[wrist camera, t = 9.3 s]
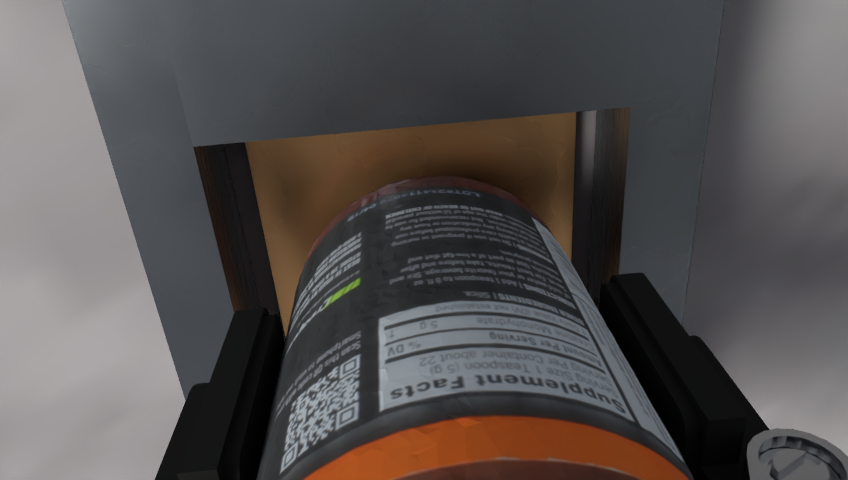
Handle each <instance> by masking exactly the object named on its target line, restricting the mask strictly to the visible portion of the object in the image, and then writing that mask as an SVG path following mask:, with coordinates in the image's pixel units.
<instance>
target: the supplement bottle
mask: <svg viewBox="0 0 848 480" xmlns="http://www.w3.org/2000/svg"><path fill="white" fill-rule="evenodd" d="M597 306H598V298H596V297H595V298H594V302H593V300H592V299H591V297H590V295H589V293H588V291H587V290H586V288H585V286H584V284H583V282H582V280H581V279H580V277H579V275H578V273H577V272H576V270H575V268H574V266H573V265H572V263H571V261H570V260H569V258H568V256H567V255H566V253H565V251H564V250H563V248H562V247H561V246H560V244H559V243H558V242H557V240H556V238H555V237H554V236H553V234H552V233H551V231H550V229H549V228H548V226H547V225H546V224H545V223H544V221H543V220H542V219H541V218H540V217H539V216H538V215H537V214H536V213H535V212H534V211H533V210H532V209H531V208H530V207H528V206H527V205H526V204H524V203H523V202H522V201H521V200H520V199H518V198H516V197H515V196H514V195H512V194H510V193H508V192H506V191H504V190H503V189H500V188H498V187H496V186H493V185H490V184H487V183H484V182H481V181H477V180H473V179H470V178H463V177H456V176H448V175H440V176H431V175H430V176H420V177H413V178H407V179H402V180H399V181H395V182H391V183H388V184H386V185H383V186H381V187H379V188H378V189H376V190H374V191H372V192H370V193H368V194H366V195H364V196H362V197H361V198H359V199H357V200H356V201H354V202H352V203H350V204H349V205H348V206H347V207H346V208H345V209H343V210H342V211H341V212H340V213H339V214H338V215H337V216H335V217H334V218H333V219H332V220H331V222H330V223H329V224H328V225H327V226H326V228H325V229H324V230H323V232H322V233H321V234H320V235H319V237H318V238H317V240H316V241H315V243H314V244H313V246H312V249H311V251H310V253H309V254H308V257H307V259H306V261H305V263H304V266H303V270H302V273H301V275H300V277H299V282H298V285H297V288H296V291H295V297H294V303H293V308H292V312H291V316H290V321H289V325H288V331H287V335H286V339H285V343H284V349H283V353H282V356H281V360H280V369H279V374H278V379H277V384H276V387H275V392H274V397H273V402H272V407H271V410H270V416H269V421H268V426H267V430H266V435H265V440H264V444H263V448H262V455H261V459H260V464H259V469H258V474H257V478H256V480H694V478H693V476H692V474H691V472H690V471H689V469H688V467H687V465H686V463H685V461H684V459H683V457H682V455H681V453H680V451H679V449H678V447H677V446H676V444H675V442H674V440H673V439H672V437H671V435H670V434H669V432H668V431H667V429H666V427H665V425H664V423H663V422H662V420H661V419H660V417H659V416H658V414H657V412H656V411H655V409H654V407H653V406H652V404H651V402H650V400H649V398H648V396H647V395H646V393H645V391H644V389H643V388H642V386H641V385H640V382H639V380H638V378H637V376H636V374H635V372H634V371H633V369H632V368H631V366H630V365H629V363H628V361H627V360H626V358H625V356H624V354H623V352H622V350H621V349H620V347H619V345H618V344H617V342H616V340H615V338H614V336H613V335H612V333H611V331H610V330H609V328H608V327H607V325H606V323H605V321H604V319H603V317H602V316H601V314H600V312H599V310H598V309H597Z"/></svg>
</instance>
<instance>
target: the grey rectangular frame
mask: <svg viewBox="0 0 848 480" xmlns="http://www.w3.org/2000/svg"><path fill="white" fill-rule="evenodd" d="M62 4H63V7H64V10H65V13H66V16H67V20H68V23H69V26H70V29H71V33H72V36H73V39H74V42H75V45H76V49H77V52H78V55H79V58H80V62H81V65H82V68H83V71H84V75H85V78H86V81H87V84H88V87H89V91H90V94H91V97H92V100H93V104H94V107H95V110H96V113H97V116H98V120H99V123H100V126H101V129H102V133H103V136H104V139H105V142H106V145H107V149H108V152H109V155H110V158H111V162H112V165H113V168H114V171H115V174H116V178H117V181H118V184H119V187H120V191H121V194H122V197H123V200H124V203H125V207H126V210H127V213H128V216H129V220H130V223H131V226H132V229H133V232H134V236H135V239H136V242H137V245H138V249H139V252H140V255H141V258H142V262H143V265H144V268H145V271H146V274H147V278H148V281H149V284H150V287H151V291H152V294H153V297H154V300H155V303H156V307H157V310H158V313H159V316H160V320H161V323H162V326H163V329H164V332H165V336H166V339H167V342H168V345H169V349H170V352H171V355H172V358H173V361H174V365H175V368H176V371H177V374H178V378H179V381H180V384H181V387H182V390H183V394H184V397H185V400H186V399H187V397H188V394H189V392H190V390H191V388H192V386H194V385H195V384H199V383H209V382H210V379H211V376H212V373H213V370H214V368H215V365H216V362H217V359H218V357H219V354H220V351H221V348H222V345H223V343H224V340H225V337H226V334H227V332H228V329H229V326H230V323H231V320H232V318H233V315H234V313H235V311H238V310H248V309H259V308H260V305H259V300H258V296H257V291H256V287H255V282H254V278H253V274H252V269H251V265H250V260H249V256H248V251H247V247H246V242H245V238H244V233H243V229H242V224H241V220H240V216H239V211H238V207H237V202H236V198H235V193H234V189H233V184H232V180H231V175H230V171H229V166H228V162H227V157H226V153H225V149H224V144H229V143H240V142H245V145H246V150H247V155H248V160H249V164H250V169H251V174H252V179H253V184H254V188H255V193H256V198H257V203H258V208H259V213H260V217H261V222H262V227H263V232H264V237H265V241H266V246H267V251H268V256H269V261H270V265H271V270H272V275H273V280H274V285H275V289H276V294H277V299H278V304H279V309H280V313H281V318H282V323H283V328H284V333H285V338H286V335H287V331H288V325H289V321H290V316H291V312H292V308H293V303H294V297H295V291H296V288H297V285H298V282H299V277H300V275H301V273H302V270H303V266H304V263H305V261H306V259H307V257H308V254H309V253H310V251H311V249H312V246H313V244H314V243H315V241H316V240H317V238H318V237H319V235H320V234H321V233H322V232H323V230H324V229H325V228H326V226H327V225H328V224H329V223H330V222H331V220H332V219H333V218H334V217H335V216H337V215H338V214H339V213H340V212H341V211H342V210H343V209H345V208H346V207H347V206H348V205H349V204H350V203H352V202H354V201H356V200H357V199H359V198H361V197H362V196H364V195H366V194H368V193H370V192H372V191H374V190H376V189H378V188H379V187H381V186H383V185H386V184H388V183H391V182H395V181H399V180H402V179H407V178H413V177H420V176H430V175H431V176H440V175H448V176H456V177H463V178H470V179H473V180H477V181H481V182H484V183H487V184H490V185H493V186H496V187H498V188H500V189H503V190H504V191H506V192H508V193H510V194H512V195H514V196H515V197H516V198H518V199H520V200H521V201H522V202H523V203H524V204H526V205H527V206H528V207H530V208H531V209H532V210H533V211H534V212H535V213H536V214H537V215H538V216H539V217H540V218H541V219H542V220H543V221H544V223H545V224H546V225H547V226H548V228H549V229H550V231H551V233H552V234H553V236H554V237H555V238H556V240H557V242H558V243H559V244H560V246H561V247H562V248H563V250H564V251H565V253H566V255H567V256H568V258H569V260H570V261H571V252H572V223H573V194H574V164H575V135H576V112H581V111H592V110H597V114H596V134H595V155H594V175H593V196H592V216H591V237H590V257H589V278H588V293H589V295H590V297H591V299H592V300H593V302H594V298H595V297H596V298H598V306H597V309H598V310H599V301H600V288H601V285H602V284H603V283H609V281H610V278H611V276H612V275H618V274H628V273H639V272H641V273H643V274H645V276H646V277H647V278H648V280H649V281H650V282H651V284H652V285H653V287H654V288H655V289H656V291H657V292H658V294H659V295H660V296H661V298H662V299H663V300H664V302H665V303H666V305H667V306H668V307H669V309H670V310H671V312H672V313H673V314H674V316H675V317H676V318H677V320H678V321H679V323H680V324H681V325H682V323H683V316H684V308H685V300H686V293H687V285H688V277H689V269H690V262H691V254H692V246H693V239H694V231H695V223H696V216H697V208H698V200H699V192H700V185H701V177H702V169H703V162H704V154H705V146H706V139H707V131H708V123H709V116H710V108H711V100H712V92H713V85H714V77H715V69H716V62H717V54H718V46H719V39H720V31H721V23H722V15H723V8H724V0H62Z"/></svg>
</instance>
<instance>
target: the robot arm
mask: <svg viewBox="0 0 848 480" xmlns="http://www.w3.org/2000/svg"><path fill="white" fill-rule="evenodd" d="M599 312H600V314H601V316H602V317H603V319H604V321H605V323H606V325H607V327H608V328H609V330H610V331H611V333H612V335H613V336H614V338H615V340H616V342H617V344H618V345H619V347H620V349H621V350H622V352H623V354H624V356H625V358H626V360H627V361H628V363H629V365H630V366H631V368H632V369H633V371H634V372H635V374H636V376H637V378H638V380H639V382H640V385H641V386H642V388H643V389H644V391H645V393H646V395H647V396H648V398H649V400H650V402H651V404H652V406H653V407H654V409H655V411H656V412H657V414H658V416H659V417H660V419H661V420H662V422H663V423H664V425H665V427H666V429H667V431H668V432H669V434H670V435H671V437H672V439H673V440H674V442H675V444H676V446H677V447H678V449H679V451H680V453H681V455H682V457H683V459H684V461H685V463H686V465H687V467H688V469H689V471H690V472H691V474H692V476H693V478H694V480H848V457H847V456H846V455H845V454H844V453H843V452H842V451H841V450H840V449H839V448H837V447H836V446H834V445H832V444H831V443H829V442H828V441H826V440H824V439H822V438H819V437H817V436H815V435H812V434H810V433H806V432H802V431H798V430H794V429H772V430H769V428H768V427H767V426H766V424H765V423H764V422H763V420H762V419H761V418H760V416H759V415H758V414H757V412H756V411H755V410H754V408H753V407H752V406H751V404H750V403H749V402H748V400H747V399H746V398H745V396H744V395H743V394H742V392H741V391H740V390H739V388H738V387H737V386H736V384H735V383H734V382H733V380H732V379H731V378H730V376H729V375H728V374H727V372H726V371H725V370H724V368H723V367H722V365H721V364H720V363H719V361H718V360H717V359H716V357H715V356H714V355H713V353H712V352H711V351H710V349H709V348H708V347H707V345H706V344H705V343H704V342H703V341H702V340H701V339H700V338H699V337H697V336H689V335H688V334H687V332H686V331H685V330H684V328H683V327H682V325H681V324H680V323H679V321H678V320H677V318H676V317H675V316H674V314H673V313H672V312H671V310H670V309H669V307H668V306H667V305H666V303H665V302H664V300H663V299H662V298H661V296H660V295H659V294H658V292H657V291H656V289H655V288H654V287H653V285H652V284H651V282H650V281H649V280H648V278H647V277H646V276H645V274H643V273H641V272H639V273H628V274H618V275H612V276H611V278H610V281H609V283H603V284H602V285H601V288H600V301H599ZM284 343H285V342H284V337H283V332H282V327H281V322H280V318H279V316H278V315H277V314H276V315H269V312H268V310H267V309H266V308H259V309H248V310H238V311H235V313H234V315H233V318H232V320H231V323H230V326H229V329H228V332H227V334H226V337H225V340H224V343H223V345H222V348H221V351H220V354H219V357H218V359H217V362H216V365H215V368H214V370H213V373H212V376H211V379H210V382H209V383H199V384H195V385H194V386H192V388H191V390H190V392H189V394H188V397H187V399H186V402H185V404H184V407H183V409H182V412H181V414H180V417H179V420H178V422H177V425H176V427H175V430H174V432H173V435H172V437H171V440H170V442H169V445H168V447H167V450H166V453H165V455H164V458H163V460H162V463H161V465H160V468H159V470H158V473H157V475H156V478H155V480H256V478H257V474H258V469H259V464H260V459H261V455H262V448H263V444H264V440H265V435H266V430H267V426H268V421H269V416H270V410H271V407H272V402H273V397H274V392H275V387H276V384H277V379H278V374H279V369H280V360H281V356H282V353H283V349H284Z"/></svg>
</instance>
